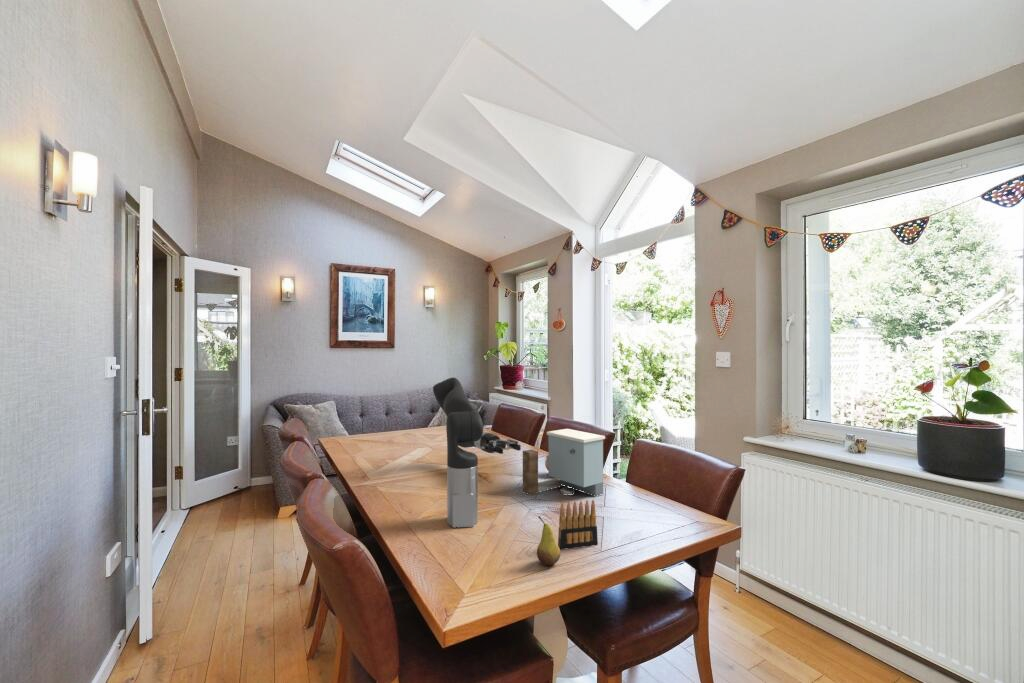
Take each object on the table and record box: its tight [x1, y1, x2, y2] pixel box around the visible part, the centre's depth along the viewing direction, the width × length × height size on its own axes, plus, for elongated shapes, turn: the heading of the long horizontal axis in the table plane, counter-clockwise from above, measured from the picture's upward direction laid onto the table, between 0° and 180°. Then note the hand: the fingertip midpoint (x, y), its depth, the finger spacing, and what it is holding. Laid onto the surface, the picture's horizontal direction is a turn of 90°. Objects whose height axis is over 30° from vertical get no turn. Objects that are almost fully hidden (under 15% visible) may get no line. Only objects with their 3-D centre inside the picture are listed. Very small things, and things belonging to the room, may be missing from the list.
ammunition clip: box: [557, 499, 599, 550], centre depth 123 cm, size 11×2×12 cm, turn 104°
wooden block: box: [522, 449, 562, 495], centre depth 171 cm, size 4×16×15 cm, turn 128°
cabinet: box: [546, 428, 606, 497], centre depth 169 cm, size 19×12×21 cm, turn 38°
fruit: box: [536, 515, 561, 566], centre depth 113 cm, size 6×6×12 cm
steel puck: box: [560, 487, 575, 495], centre depth 167 cm, size 5×5×2 cm
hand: (511, 449), depth 177 cm, fingers open, 8 cm apart
